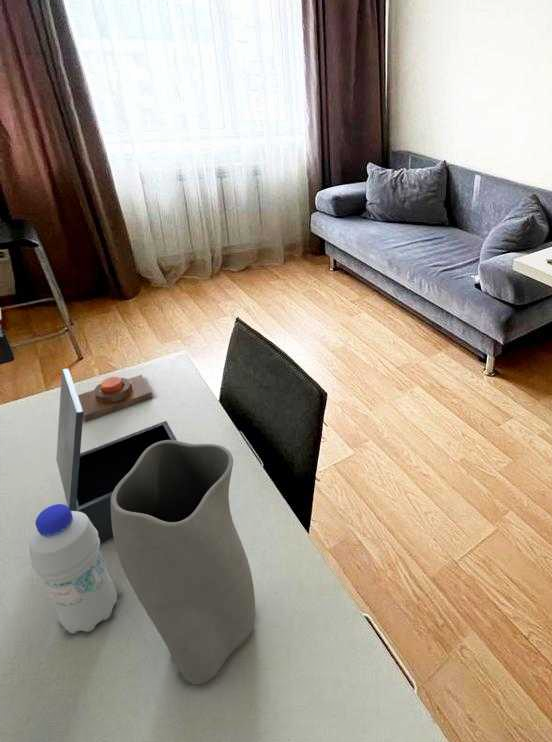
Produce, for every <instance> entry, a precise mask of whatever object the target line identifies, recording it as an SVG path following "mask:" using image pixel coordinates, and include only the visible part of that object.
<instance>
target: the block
mask: <svg viewBox="0 0 552 742" xmlns="http://www.w3.org/2000/svg"><path fill="white" fill-rule="evenodd" d="M120 378H121V380H122V384H123V388H122V389H120V390H119V391H116V392H113V393H104V392H103V390H102V387H101V383H99V384H97V385H96V387H95V388H94V389H93V390H90V391H86V392H83V393H81V394H77V395H78V398H79V401H80V403H81V406H82V409H83V418H84V420H85V422H88V421H90V420H94V419H97V418H100V417H102V416H105V415H108V414H110V413H111V414H112V413H113V412H117V411H120V410H122V409H125V408H128V407H131V406H133V405H136V404H139V403H142V402H145V401H148V400H151V399H153V394H152V391H151V389H150V387H149V385H148V383H147V382H146V380H145V378H144V376H143V375H142V374H140V375H136V376H133V377H130V378H125V377H120Z"/></svg>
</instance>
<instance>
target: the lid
mask: <svg viewBox="0 0 552 742" xmlns="http://www.w3.org/2000/svg"><path fill="white" fill-rule="evenodd" d="M60 379H61V381H60V382H61V383H60V394H59V395H60V396H59V397H60V398H59V410H58V411H59V413H58V426H57V443H56V459H55V460H56V464H57V468H58V473H59V476H60V480H61V481H60V482H61V484H62V489H63V491H64V496H65V501H66V504H67V505H66V506H68V507H69V508H70V510H71V511H73V510H76V501H77V488H78V475H79V462H80V454H81V448H82V435H83V421H84V415H83V409H82V406H81V403H80V401H79V398H78V395H79V394H78V392H77V389H76V386H75V383H74V381H73V378H72V375H71V372H70V368H62V369H61V378H60Z"/></svg>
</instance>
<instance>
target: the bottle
mask: <svg viewBox="0 0 552 742" xmlns="http://www.w3.org/2000/svg"><path fill="white" fill-rule="evenodd" d="M35 527H36V528H35V530H34V531H33V532H32V533H31V535H30V538H29V541H28V549H29V554H30V560H31V567H32V568H33V569H34V570H35V573H36V575H37V576H38V577H39V578H40V579H43V581H44V583H45V586H46V588H47V591H48V592H49V595H50V597H51V600H52V601H53V603H54V604H53V605H54V608H55V610H56V611H55V612H56V614H57V616H58V617H57V618H58V620H59V622H60V624H61V626H62V627H63V628H64V629H65V630H66V631H67V632H69V633H70V634H76V633H78V632H81V631H82V632H86V633H89V632H91V631H93V630H95V628H96V626H97V625H98V624H99V623H100V622H102V621H107V620H108V619H109V618H110V617H111V615H112V611H113V608H114V606H115V605H116V604H117V601H118V594H117V588H116V586H115V584H114V581H113V579H112V578H111V576H110V573H109V572H108V569H107V566H106V564H105V561H104V558H103V556H102V552H101V550H100V545H101V543H100V539H99V537H98V532H97V530H96V529H95V527H94V526H93V524H92V523H91V521H90V520H89V518H88V517H87V515H86V514H84V513H82V512H79V511H73V510H72V511H71V510H70V508H69V507H68V505H66V504H64V503H57V504H51V505H49V506H47V507H46V508H44V509H43V510H42V511H41V512H40V513H39V514H38V515H37V517H36V518H35Z"/></svg>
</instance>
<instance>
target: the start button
mask: <svg viewBox="0 0 552 742" xmlns="http://www.w3.org/2000/svg"><path fill="white" fill-rule="evenodd" d="M121 378H122V377H120V376H111V377H107V378H105V379H104V380H102V381H101V383H100V384H101V387H102V390H103V392H104V393H113V392H116V391H119V390H120V389H122V388H123V384H122V380H121Z"/></svg>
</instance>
